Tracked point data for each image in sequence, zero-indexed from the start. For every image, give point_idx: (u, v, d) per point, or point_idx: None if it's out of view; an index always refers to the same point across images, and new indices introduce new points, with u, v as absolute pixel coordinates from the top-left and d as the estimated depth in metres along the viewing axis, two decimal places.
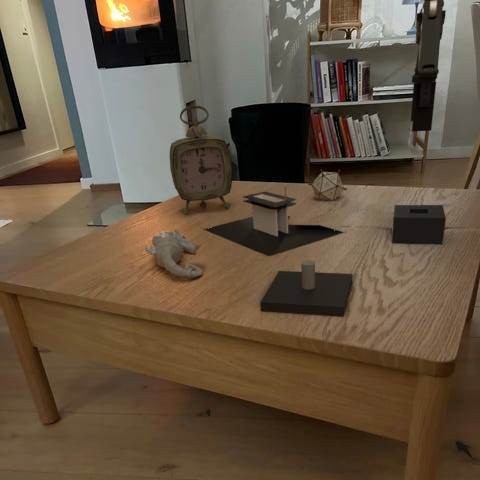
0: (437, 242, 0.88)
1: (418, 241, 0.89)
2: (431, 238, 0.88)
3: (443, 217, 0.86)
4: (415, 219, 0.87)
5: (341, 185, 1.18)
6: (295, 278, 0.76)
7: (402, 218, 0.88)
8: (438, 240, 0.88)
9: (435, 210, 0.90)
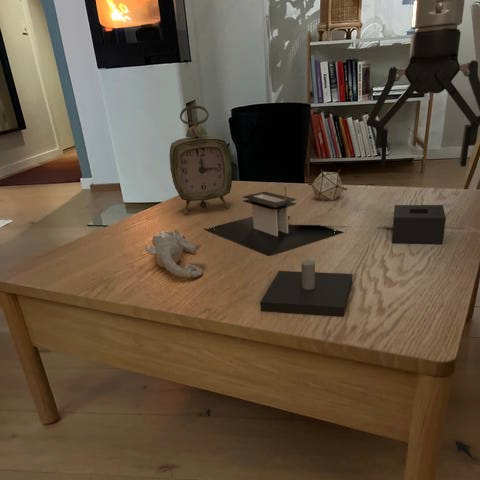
0: (437, 242, 0.88)
1: (418, 241, 0.89)
2: (431, 238, 0.88)
3: (443, 217, 0.86)
4: (415, 219, 0.87)
5: (341, 185, 1.18)
6: (295, 278, 0.76)
7: (402, 218, 0.88)
8: (438, 240, 0.88)
9: (435, 210, 0.90)
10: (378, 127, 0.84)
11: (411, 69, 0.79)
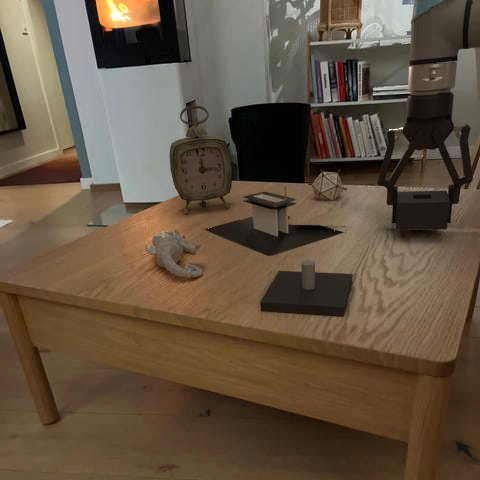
0: (442, 227, 0.87)
1: (422, 227, 0.88)
2: (435, 223, 0.87)
3: (447, 201, 0.85)
4: (418, 204, 0.86)
5: (341, 185, 1.18)
6: (295, 278, 0.76)
7: (405, 203, 0.87)
8: (443, 225, 0.86)
9: (439, 195, 0.89)
10: (389, 187, 0.89)
11: (407, 128, 0.84)
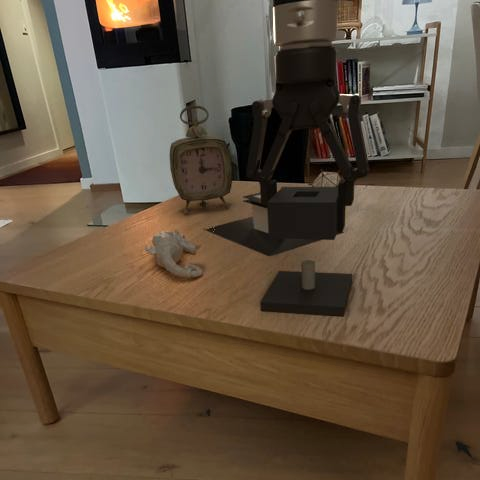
0: (327, 237, 0.63)
1: (302, 235, 0.64)
2: (318, 231, 0.63)
3: (332, 202, 0.61)
4: (295, 204, 0.62)
5: None
6: (295, 278, 0.76)
7: (277, 202, 0.63)
8: (328, 234, 0.63)
9: (328, 193, 0.65)
10: (261, 180, 0.65)
11: (278, 99, 0.60)
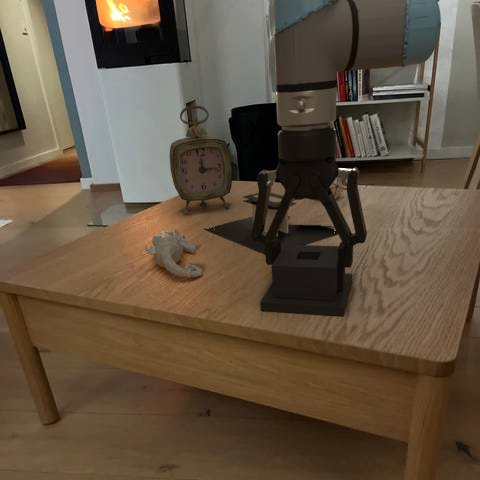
0: (328, 298, 0.67)
1: (305, 296, 0.68)
2: (320, 293, 0.67)
3: (333, 267, 0.65)
4: (297, 268, 0.66)
5: (341, 185, 1.18)
6: None
7: (281, 266, 0.67)
8: (329, 295, 0.67)
9: (329, 255, 0.69)
10: (266, 243, 0.70)
11: (281, 172, 0.64)
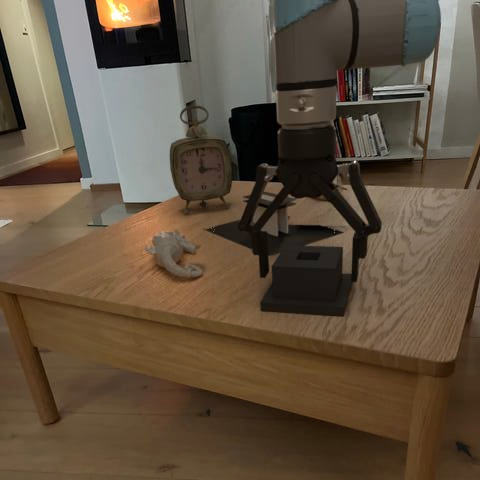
0: (328, 298, 0.67)
1: (305, 296, 0.68)
2: (320, 293, 0.67)
3: (333, 267, 0.65)
4: (297, 269, 0.66)
5: (341, 185, 1.18)
6: None
7: (281, 267, 0.67)
8: (329, 295, 0.67)
9: (329, 256, 0.69)
10: (252, 233, 0.69)
11: (281, 170, 0.64)
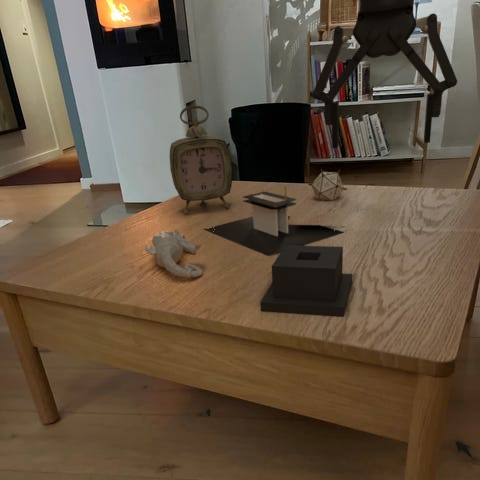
0: (328, 298, 0.67)
1: (305, 296, 0.68)
2: (320, 293, 0.67)
3: (333, 267, 0.65)
4: (297, 269, 0.66)
5: (341, 185, 1.18)
6: None
7: (281, 267, 0.67)
8: (329, 295, 0.67)
9: (329, 256, 0.69)
10: (326, 100, 0.72)
11: (359, 28, 0.67)
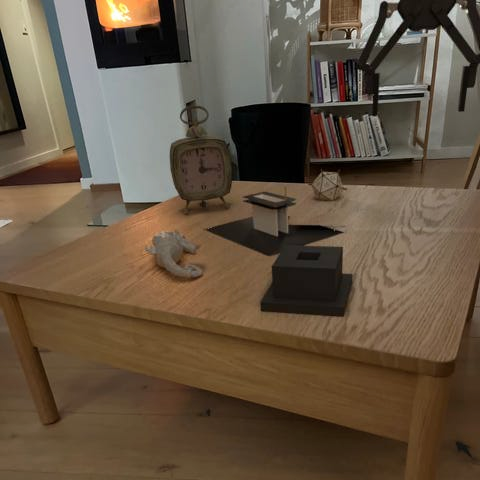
0: (328, 298, 0.67)
1: (305, 296, 0.68)
2: (320, 293, 0.67)
3: (333, 267, 0.65)
4: (297, 269, 0.66)
5: (341, 185, 1.18)
6: None
7: (281, 267, 0.67)
8: (329, 295, 0.67)
9: (329, 256, 0.69)
10: (369, 70, 0.78)
11: (404, 3, 0.73)
